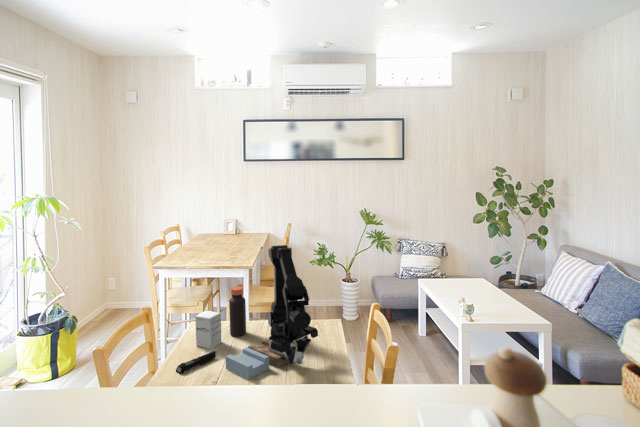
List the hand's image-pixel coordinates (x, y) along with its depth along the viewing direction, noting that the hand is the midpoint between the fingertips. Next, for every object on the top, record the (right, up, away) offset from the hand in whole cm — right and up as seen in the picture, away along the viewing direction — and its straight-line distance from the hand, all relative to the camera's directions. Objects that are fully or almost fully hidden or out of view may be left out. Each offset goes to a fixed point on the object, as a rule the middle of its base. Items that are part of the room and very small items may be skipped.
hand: (295, 361), depth 143 cm
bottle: (-26, +1, +30) cm, 40 cm away
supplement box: (-36, -1, +20) cm, 41 cm away
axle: (-4, 0, +3) cm, 5 cm away
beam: (-10, -1, +8) cm, 13 cm away
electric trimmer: (-36, -3, +2) cm, 36 cm away
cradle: (-17, -2, 0) cm, 17 cm away
